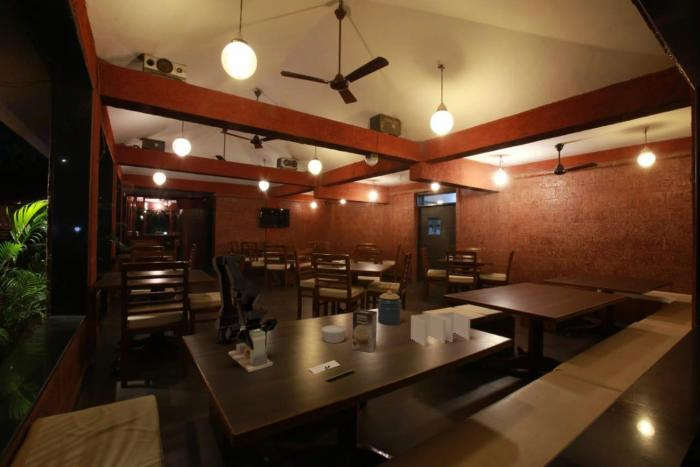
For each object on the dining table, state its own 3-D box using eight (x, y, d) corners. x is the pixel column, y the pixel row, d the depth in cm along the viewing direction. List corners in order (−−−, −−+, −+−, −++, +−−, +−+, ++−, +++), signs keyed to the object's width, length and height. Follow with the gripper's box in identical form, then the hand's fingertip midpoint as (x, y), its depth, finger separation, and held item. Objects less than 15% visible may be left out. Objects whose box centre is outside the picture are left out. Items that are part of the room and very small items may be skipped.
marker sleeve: (250, 362, 116) (250, 332, 116) (261, 359, 119) (261, 330, 119) (253, 365, 114) (253, 334, 114) (265, 362, 117) (265, 332, 117)
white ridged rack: (235, 352, 127) (235, 344, 127) (247, 349, 130) (247, 341, 130) (254, 367, 113) (254, 358, 113) (267, 363, 116) (267, 354, 116)
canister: (376, 324, 171) (377, 291, 171) (378, 318, 183) (378, 287, 183) (401, 326, 168) (401, 292, 168) (401, 319, 181) (401, 288, 181)
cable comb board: (228, 354, 127) (228, 351, 127) (250, 349, 133) (250, 346, 133) (249, 371, 111) (249, 369, 111) (272, 365, 117) (272, 362, 117)
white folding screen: (454, 333, 157) (454, 311, 157) (469, 340, 147) (470, 317, 147) (410, 339, 148) (411, 315, 148) (424, 347, 138) (424, 321, 138)
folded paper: (334, 363, 121) (334, 357, 121) (355, 374, 112) (355, 368, 112) (307, 371, 113) (307, 366, 113) (328, 384, 104) (328, 378, 104)
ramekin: (317, 342, 143) (317, 330, 143) (328, 334, 153) (328, 323, 153) (340, 345, 139) (340, 333, 138) (349, 337, 149) (349, 326, 149)
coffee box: (351, 349, 134) (351, 311, 134) (357, 344, 140) (357, 308, 140) (371, 353, 130) (372, 314, 130) (377, 348, 136) (377, 310, 136)
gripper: (228, 303, 113) (240, 342, 105) (276, 296, 125) (290, 331, 117) (221, 320, 119) (231, 358, 111) (267, 312, 131) (279, 346, 123)
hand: (259, 348), depth 115 cm, fingers closed on marker sleeve, 4 cm apart
